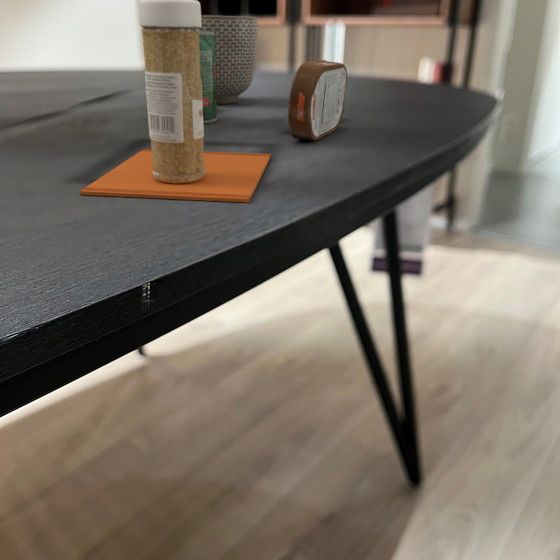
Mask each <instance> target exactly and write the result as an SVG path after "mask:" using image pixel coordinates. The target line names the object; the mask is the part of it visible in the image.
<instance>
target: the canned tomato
mask: <svg viewBox="0 0 560 560" xmlns="http://www.w3.org/2000/svg"><path fill="white" fill-rule="evenodd" d="M214 35H215V33H214V32H200V34H199V47H200V51H199V52H200V78H201V82H202V103H203V125H207V124H212V123H216V122H217V120H218V117H217V104H216V78H215V75H216V74H215V43H214Z"/></svg>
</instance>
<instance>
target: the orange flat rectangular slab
mask: <svg viewBox="0 0 560 560" xmlns="http://www.w3.org/2000/svg"><path fill="white" fill-rule="evenodd" d="M271 156H272V154H271V153H252V152H250V153H249V152H225V151H204V164H205V169H206V176H205V177H204V178H203V179H201V180H199V181H196V182H192V183H182V184H175V183H164V182H160V181H157V180H156V179H154V178H153V177H152V170H153V161H152V148H151V149H150V148H143V149H141V150H140V151H138V152H137V153H136V154H134V155H132V156H131V157H129V158H128V159H127V160H125V161H123V162H122V163H120V164H119V165H118V166H116V167H114V168H113V169H111V170H109V171H108V172H107V173H105V174H104V175H102V176H101V177H99V178H98V179H96V180H95V181H93V182H92V183H89V185H87V186H85V187H83V188H82V189H81V190H79V195H80V196H101V197H121V198H140V199H141V198H143V199H162V200H181V201H182V200H183V201H204V202H224V203H225V202H227V203H245V204H246V203H247V204H249V203H250V201H251V199H252V196H253V195H254V193H255V191H256V188H257V187H258V184H259V183H260V180H261V178H262V176H263V174H264V172H265V170H266V168H267V166H268V164H269V162H270V160H271Z"/></svg>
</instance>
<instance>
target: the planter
mask: <svg viewBox="0 0 560 560" xmlns="http://www.w3.org/2000/svg"><path fill="white" fill-rule="evenodd" d="M258 23H259V22H258V18H257V17H256V16H232V15H201V27H200V28H199V30H200V32H214V33H215V35H214V43H215V74H216V75H215V78H216V105H228V104H234V103H237V101H238V100H239V98H240V95H241V94H243V93H245V92H246V91H247V90H248V89H249V88H250V87H251V85H252V82H253V79H254V76H255V75H254V74H255V67H256V59H257V45H258V44H257V43H258V28H259V26H258V25H259V24H258Z"/></svg>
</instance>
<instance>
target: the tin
mask: <svg viewBox="0 0 560 560" xmlns="http://www.w3.org/2000/svg"><path fill="white" fill-rule="evenodd" d="M347 85H348V71H347V67H346V66H345V64H343V63H341V62H338V61H337V62H336V61H329V60H326V59H322V60H312V61H304V62H302V63H301V64H300V65H299V67H298V68H297V70H296V72H295V74H294V77H293V79H292V83H291V86H290V92H289V96H288V97H289V99H288V107H287V124H288V130H289V133H290V136H291V137H292V138H293V139H294V140H305V141H311V142H312V141H318V140H320V139H321V138H322V139H323V137H325V136H327V135H330V134H331V133H333V132H335V131H336V130H337V129H338V127H339V126H340V123H341V122H342V118H343V114H344V109H345V98H346V92H347V91H346V90H347Z"/></svg>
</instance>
